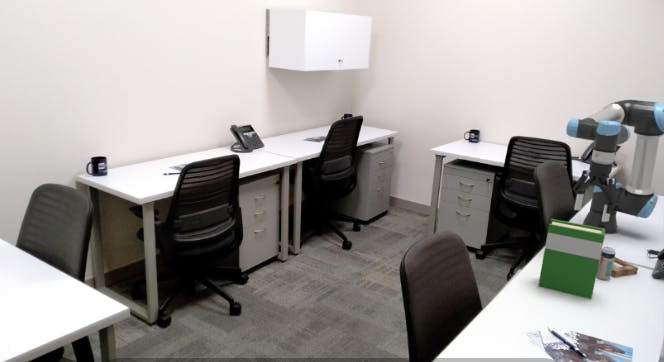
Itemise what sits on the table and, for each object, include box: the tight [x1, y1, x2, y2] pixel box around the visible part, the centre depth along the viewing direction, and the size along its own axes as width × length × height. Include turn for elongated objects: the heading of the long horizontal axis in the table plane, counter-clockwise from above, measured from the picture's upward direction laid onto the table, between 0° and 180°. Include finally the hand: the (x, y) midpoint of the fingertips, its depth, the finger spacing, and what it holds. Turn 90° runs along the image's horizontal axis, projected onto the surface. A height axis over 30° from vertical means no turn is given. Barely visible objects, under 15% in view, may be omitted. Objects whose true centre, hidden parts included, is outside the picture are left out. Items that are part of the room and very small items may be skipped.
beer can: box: [596, 246, 616, 281], centre depth 201 cm, size 5×5×12 cm
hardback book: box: [537, 218, 606, 300], centre depth 188 cm, size 18×7×24 cm, turn 64°
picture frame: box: [610, 256, 639, 278], centre depth 210 cm, size 12×12×3 cm
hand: (590, 215), depth 204 cm, fingers open, 13 cm apart
